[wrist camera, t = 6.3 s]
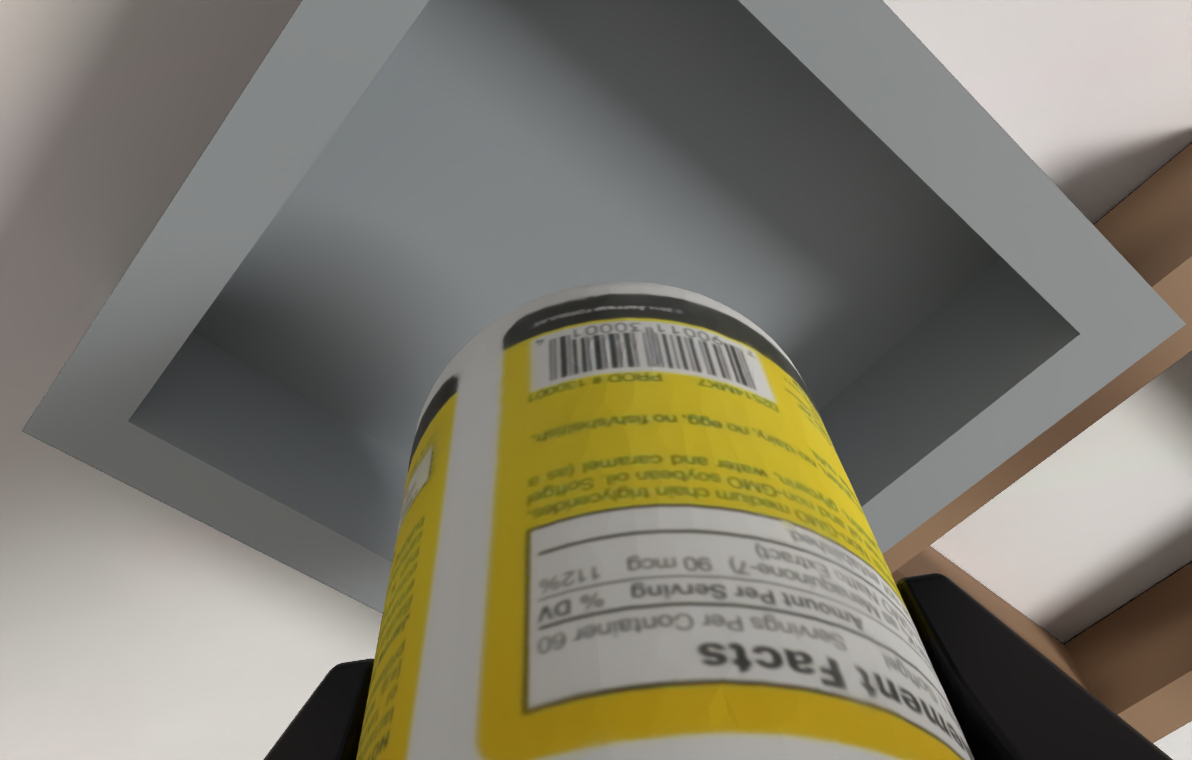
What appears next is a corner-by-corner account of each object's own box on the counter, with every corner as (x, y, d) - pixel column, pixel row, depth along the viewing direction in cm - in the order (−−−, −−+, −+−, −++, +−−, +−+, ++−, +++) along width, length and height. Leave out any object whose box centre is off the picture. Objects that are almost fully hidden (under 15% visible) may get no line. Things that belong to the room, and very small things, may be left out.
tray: (621, 596, 20) (635, 741, 17) (120, 305, 15) (21, 431, 12) (1063, 218, 15) (1185, 324, 12) (540, -329, 11) (540, -364, 8)
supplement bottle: (577, 637, 13) (617, 1644, 6) (332, 422, 11) (-54, 1599, 4) (882, 467, 12) (1399, 1520, 5) (669, 181, 10) (1032, 1345, 2)
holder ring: (1046, 705, 22) (1087, 780, 21) (757, 507, 18) (779, 580, 17) (1470, 441, 18) (1563, 508, 17) (1216, 122, 15) (1304, 167, 13)
